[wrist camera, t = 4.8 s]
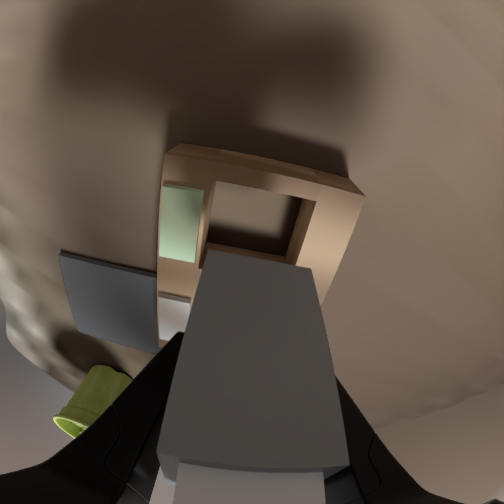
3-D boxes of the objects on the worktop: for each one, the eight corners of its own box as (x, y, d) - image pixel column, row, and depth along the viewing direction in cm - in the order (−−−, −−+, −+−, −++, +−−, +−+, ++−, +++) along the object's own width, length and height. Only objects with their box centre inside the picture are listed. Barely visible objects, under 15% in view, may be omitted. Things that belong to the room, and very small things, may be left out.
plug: (283, 336, 12) (292, 528, 5) (198, 323, 11) (161, 518, 5) (311, 268, 10) (355, 516, 3) (208, 249, 10) (145, 510, 3)
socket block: (287, 339, 23) (289, 372, 20) (167, 319, 22) (157, 350, 19) (349, 178, 16) (368, 199, 13) (180, 142, 15) (161, 155, 12)
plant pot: (110, 398, 32) (92, 451, 24) (65, 355, 27) (38, 412, 20) (165, 399, 30) (151, 462, 23) (119, 351, 25) (92, 424, 18)
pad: (162, 350, 25) (161, 354, 24) (79, 327, 24) (77, 331, 23) (162, 274, 20) (160, 278, 20) (61, 251, 19) (58, 255, 19)
